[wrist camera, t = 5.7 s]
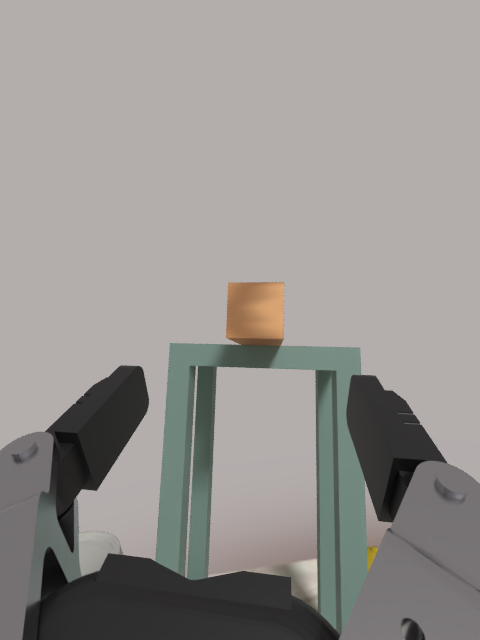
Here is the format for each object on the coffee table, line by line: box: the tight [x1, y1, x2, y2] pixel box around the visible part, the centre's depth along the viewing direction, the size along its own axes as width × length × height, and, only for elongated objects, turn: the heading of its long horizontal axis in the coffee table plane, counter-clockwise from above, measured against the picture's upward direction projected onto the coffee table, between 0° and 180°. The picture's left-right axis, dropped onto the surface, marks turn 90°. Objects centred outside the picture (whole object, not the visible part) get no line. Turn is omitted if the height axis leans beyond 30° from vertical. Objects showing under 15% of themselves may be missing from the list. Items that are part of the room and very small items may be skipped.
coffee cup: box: [79, 531, 124, 576], centre depth 25 cm, size 9×9×12 cm
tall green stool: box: [156, 343, 368, 636], centre depth 28 cm, size 17×12×32 cm
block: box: [226, 282, 284, 346], centre depth 27 cm, size 4×20×4 cm, turn 173°
